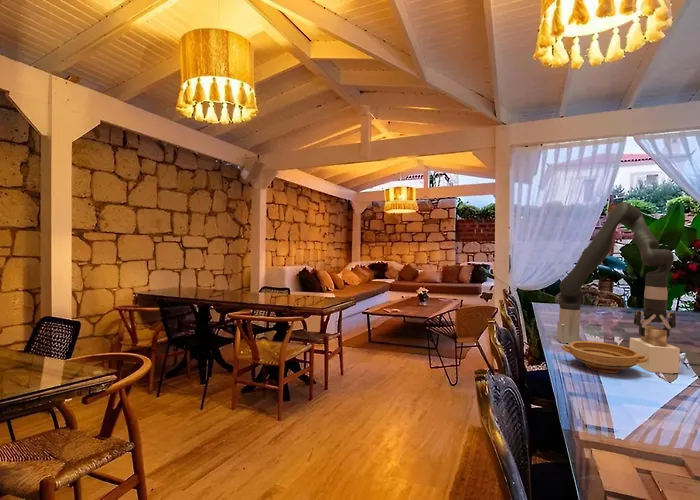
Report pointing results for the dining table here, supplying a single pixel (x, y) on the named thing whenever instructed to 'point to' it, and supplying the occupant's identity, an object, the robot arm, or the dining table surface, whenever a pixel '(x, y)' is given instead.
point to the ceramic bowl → (604, 355)
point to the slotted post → (657, 356)
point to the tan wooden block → (655, 336)
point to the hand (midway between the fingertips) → (653, 336)
